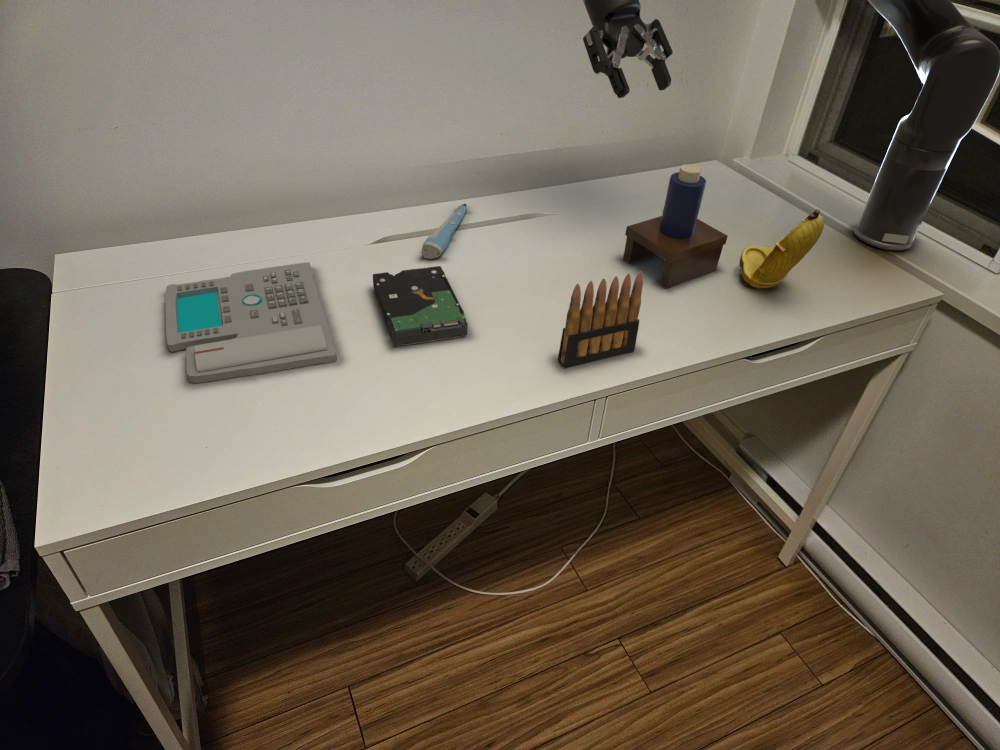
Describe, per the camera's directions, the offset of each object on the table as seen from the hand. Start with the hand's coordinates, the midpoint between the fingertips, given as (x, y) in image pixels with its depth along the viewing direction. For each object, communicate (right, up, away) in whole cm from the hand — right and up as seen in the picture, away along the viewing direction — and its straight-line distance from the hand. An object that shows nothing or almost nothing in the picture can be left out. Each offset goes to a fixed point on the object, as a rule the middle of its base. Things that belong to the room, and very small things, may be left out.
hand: (645, 91), depth 105 cm
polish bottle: (+5, -21, +2) cm, 22 cm away
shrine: (+19, -29, +2) cm, 35 cm away
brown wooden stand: (+5, -26, +5) cm, 27 cm away
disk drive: (-34, -34, -8) cm, 49 cm away
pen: (-31, -20, +10) cm, 38 cm away
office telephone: (-56, -36, -12) cm, 68 cm away
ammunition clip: (-9, -41, -14) cm, 44 cm away
